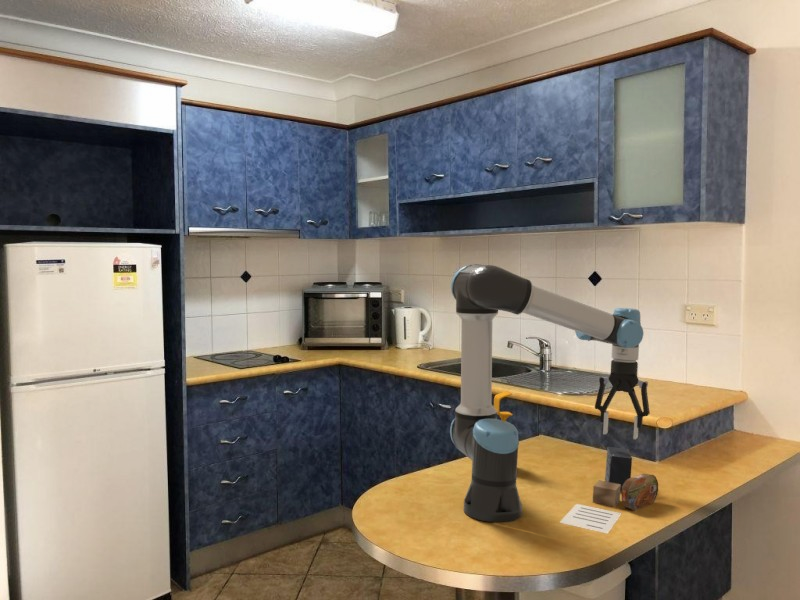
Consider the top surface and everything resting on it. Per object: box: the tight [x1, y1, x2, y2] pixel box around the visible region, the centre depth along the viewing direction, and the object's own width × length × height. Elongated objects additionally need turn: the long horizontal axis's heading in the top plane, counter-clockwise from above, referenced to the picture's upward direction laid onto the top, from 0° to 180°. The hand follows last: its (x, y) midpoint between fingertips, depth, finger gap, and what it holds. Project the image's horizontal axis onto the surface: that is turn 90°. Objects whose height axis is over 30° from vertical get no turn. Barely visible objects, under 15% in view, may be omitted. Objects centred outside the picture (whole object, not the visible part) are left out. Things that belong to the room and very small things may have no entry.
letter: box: [559, 503, 622, 535], centre depth 172 cm, size 12×16×1 cm
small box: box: [604, 446, 633, 492], centre depth 198 cm, size 11×6×10 cm, turn 168°
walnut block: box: [592, 479, 621, 508], centre depth 184 cm, size 6×6×5 cm
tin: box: [621, 473, 659, 511], centre depth 182 cm, size 15×3×8 cm, turn 129°
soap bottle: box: [493, 390, 513, 421], centre depth 211 cm, size 9×9×25 cm
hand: (620, 435), depth 198 cm, fingers open, 8 cm apart
